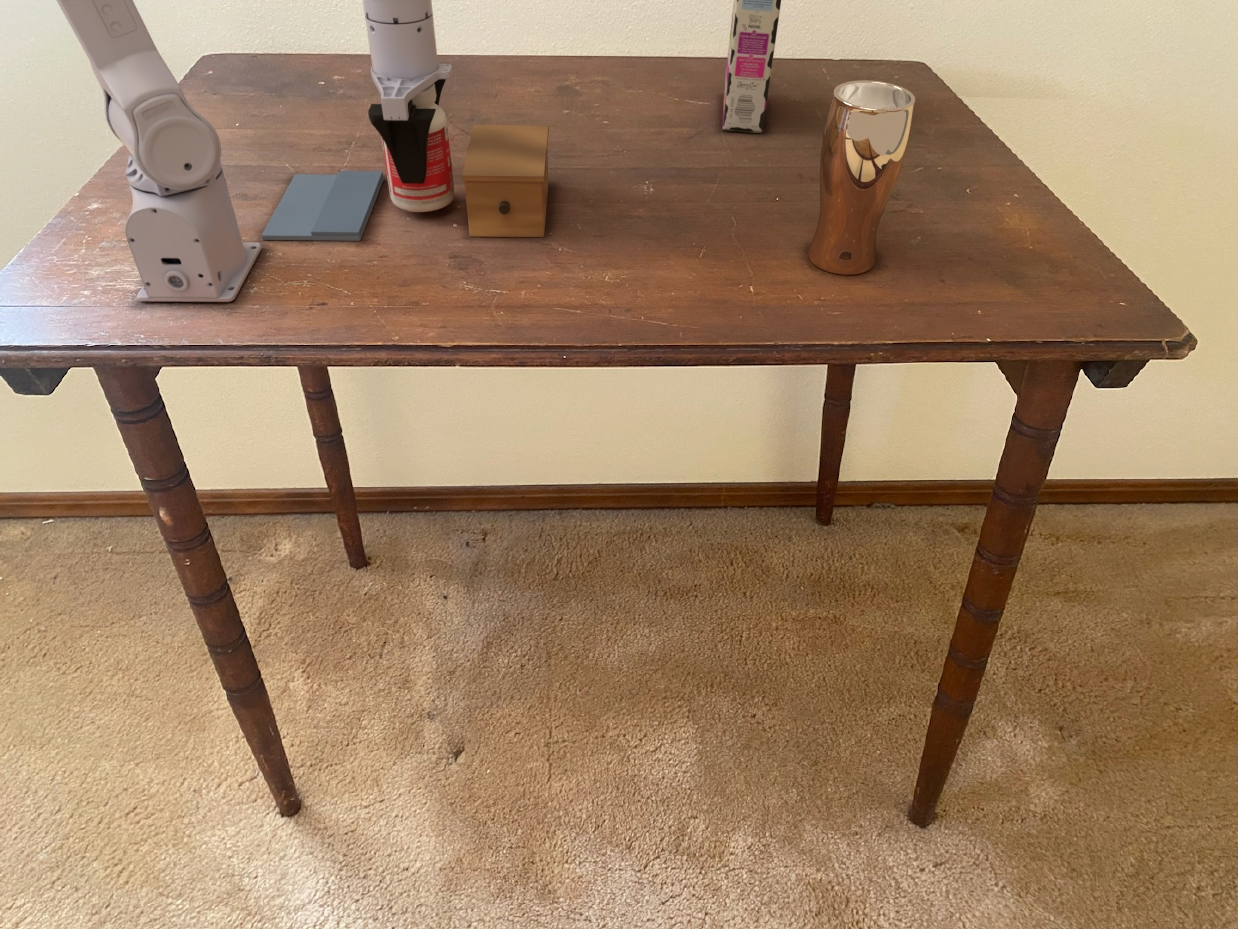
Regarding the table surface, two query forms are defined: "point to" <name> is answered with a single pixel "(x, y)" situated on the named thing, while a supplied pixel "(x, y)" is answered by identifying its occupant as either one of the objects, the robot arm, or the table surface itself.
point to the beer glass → (859, 171)
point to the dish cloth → (325, 207)
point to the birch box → (506, 180)
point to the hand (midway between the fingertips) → (418, 166)
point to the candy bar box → (749, 64)
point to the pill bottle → (439, 165)
